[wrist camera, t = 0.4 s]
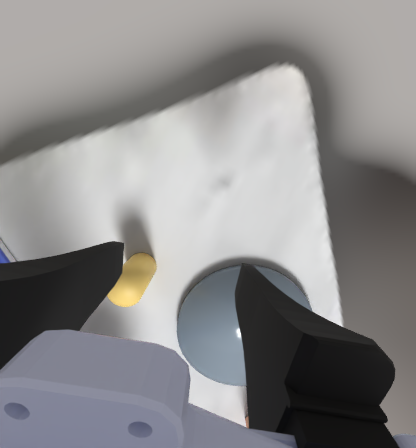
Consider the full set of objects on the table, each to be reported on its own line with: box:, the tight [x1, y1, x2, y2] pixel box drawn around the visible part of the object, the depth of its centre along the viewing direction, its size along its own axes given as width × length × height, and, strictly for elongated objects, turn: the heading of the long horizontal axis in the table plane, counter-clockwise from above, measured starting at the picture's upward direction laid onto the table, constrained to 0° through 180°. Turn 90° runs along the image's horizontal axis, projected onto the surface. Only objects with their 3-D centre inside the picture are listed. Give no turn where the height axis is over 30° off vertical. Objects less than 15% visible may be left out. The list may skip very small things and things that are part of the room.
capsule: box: [107, 253, 157, 307], centre depth 20 cm, size 3×3×5 cm
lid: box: [177, 265, 312, 386], centre depth 23 cm, size 16×16×1 cm
